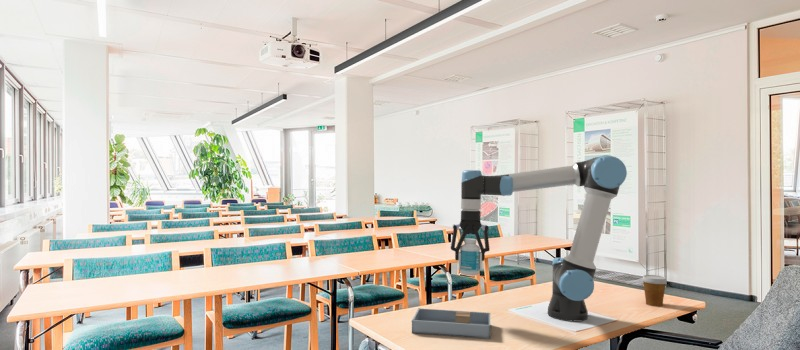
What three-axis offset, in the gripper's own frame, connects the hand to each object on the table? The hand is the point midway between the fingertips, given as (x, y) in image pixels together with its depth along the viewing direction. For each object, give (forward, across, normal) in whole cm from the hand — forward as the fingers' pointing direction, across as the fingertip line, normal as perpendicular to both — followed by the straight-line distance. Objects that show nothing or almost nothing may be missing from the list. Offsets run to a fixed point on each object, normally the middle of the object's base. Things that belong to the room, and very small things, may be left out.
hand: (469, 268), depth 180 cm
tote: (+20, +8, +11) cm, 24 cm away
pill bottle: (+2, 0, 0) cm, 2 cm away
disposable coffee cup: (+19, -84, -24) cm, 90 cm away
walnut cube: (+19, +4, +12) cm, 23 cm away
